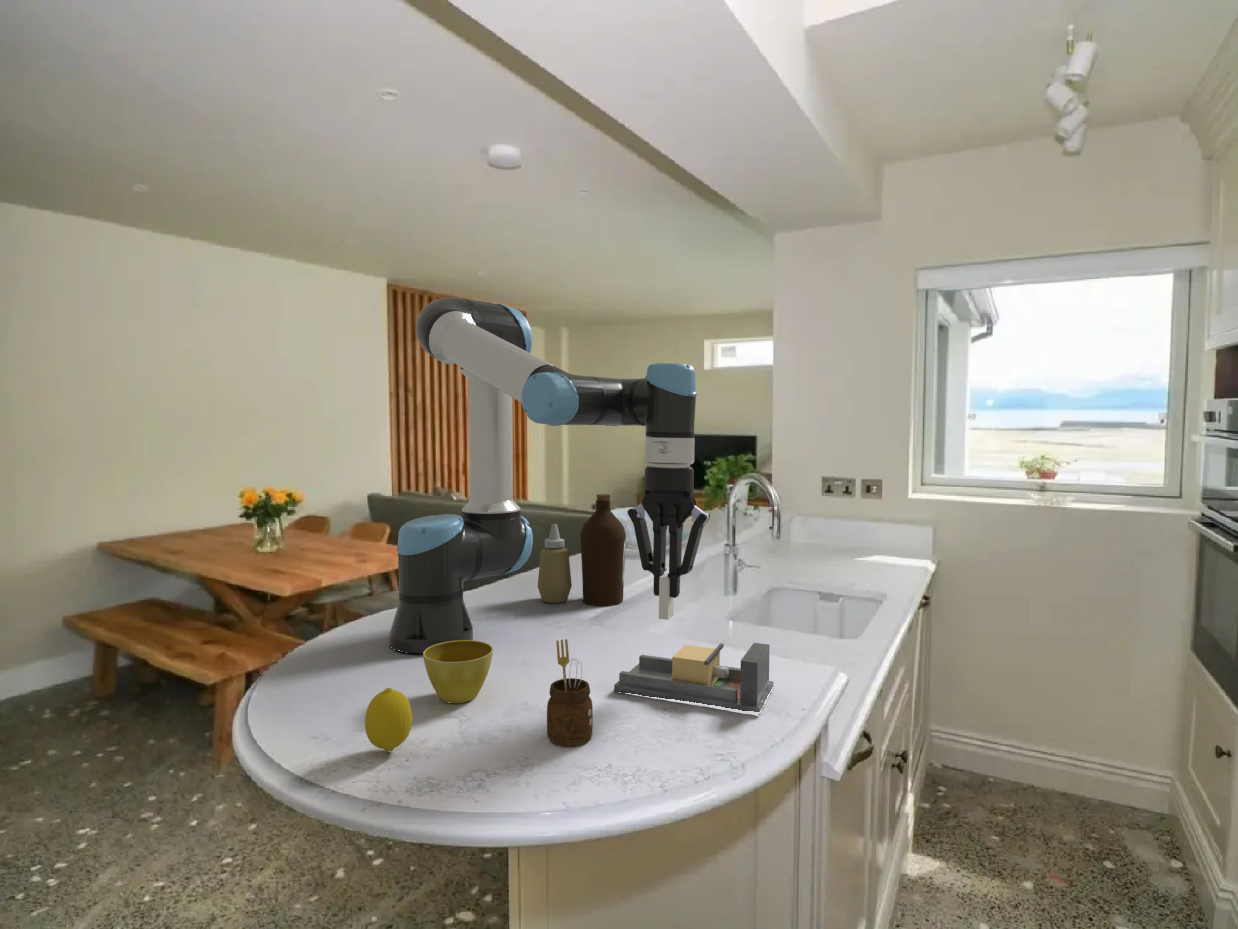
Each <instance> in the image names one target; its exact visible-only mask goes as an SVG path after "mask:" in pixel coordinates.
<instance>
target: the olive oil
mask: <svg viewBox="0 0 1238 929" xmlns="http://www.w3.org/2000/svg"><path fill="white" fill-rule="evenodd" d="M610 497H611V494H610V493H598V494H596V500H595V511H594V512H593V513H592V514H591V516H589V518H588V519H587V520H586V521H585V523H584V524H583V526H582V528H581V532H580V535H579V537H580V539H579V540H580V554H581V556H580V558H581V574H582V575H581V576H582V577H581V578H582V602H583V603H585V604H586V605H591V606H598V607H599V606H600V607H603V606H604V607H606V606H607V607H608V606H616V605H619V604H621V603H622V602H624V584H625V564H626V548H627V547H626V546H627V544H626V543H627V533H626V528H625V527H624V524H623V523H622V522H621V520H619V518H618V517H617V516H616V515H615V514H614V513H613V512H612V510H611V498H610Z"/></svg>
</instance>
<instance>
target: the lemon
mask: <svg viewBox="0 0 1238 929" xmlns="http://www.w3.org/2000/svg"><path fill="white" fill-rule="evenodd" d="M364 718H365V720H364V728H365V734H366V736H367V738H368V741H369V742H370V743H371V744H372V745H373V746H374V747H376V748H378V749H382V750H384V751H385V752H386V751H391V752H393V751H394V749H395V748H398V747H399V746H401V745H402V744H403V743H404V742H405V741H406V740H407V739H408V737H409V736H410V732H411V730H412V725H413V711H412V707H411V704H410V701H409V698H408V697H407V696H406V695H405V694H404V693H402V692H401V691H399V690H396V689H393V688H391V687H386V688H384V690H383V691H380V692H378V693H377V694H376V695H375V696H374V697H372V699H371V700H370V702H369V703H368V706H367V709H366V712H365V717H364Z"/></svg>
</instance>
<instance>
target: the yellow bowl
mask: <svg viewBox="0 0 1238 929" xmlns="http://www.w3.org/2000/svg"><path fill="white" fill-rule="evenodd" d="M493 650H494V647H493V646H492V645H491V644H490V643H488V642H485V641H480V640H474V639H473V640H457V641H449V642H443V643H439V644H435V645H433V646H431V647H429V648H427V649H426V650H425V651H424V652H423V654H422V657H423V663H424V667H425V670H426V673H427V677H428V680H429V681H430V683H431V685H432V688H433V690H434V691H435V693H436V694H437V697H439V699H440V700H441V699H442V700H443V701H445V702H450V703H462V704H464V703H463V702H467V701H470V700H472V699H473V700H475V699H476V698H477V696H478V694H479V693H480V691H481V689H482V688H483V685H484V684H485V682H486V679H487V677H488V674H489V670H490V667H491V664H492V659H493V652H494V651H493ZM442 700H441V701H442ZM473 700H472V701H473ZM443 701H442V702H443ZM445 702H444V703H445ZM470 702H471V701H470ZM467 703H468V702H467Z"/></svg>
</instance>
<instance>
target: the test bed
mask: <svg viewBox="0 0 1238 929" xmlns="http://www.w3.org/2000/svg"><path fill="white" fill-rule="evenodd" d="M770 646H771V645H770V644H769V643H760V642H753V643H752V645H751V646H750V647H749V649H748V650H747V651H746V653H745V654H744V655H743V657H742V658H741V659H740V668H739V667H732V666H727V665H720V666H721V667H728V670H729V672H728V678H720V677H719V678H718V680H717V681H716V682H715V684H714V685H711V684H704V683H698V682H691V681H685V680H678V679H672V658H670V657H669V658H668V657H662V656H654V655H646V654H641V655H639V657H638V658H639V659H638V662H639V663H638V664H636V665H635V666H634V667H632V669H630V670H629V671H626V670H625V671H624V670H622V671H620V672H619V674H618V678H619V679H618V681H617V682H616V683H615V684H613V692H621V693H631V694H638V695H642V696H649V697H657V698H658V697H659V698H665V699H675V700H680V701H681V700H682V701H689V702H694V703H695V702H696V703H702V704H707V705H715V706H721V707H725V708H731V709H738V710H742V711H754V712H760V710H761V708H762V706H763V705H764V702H765V700H766V699H767V696H768V694H769V693H770V691H771V689H772V687H773V688H774V681H772V680H770Z"/></svg>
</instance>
